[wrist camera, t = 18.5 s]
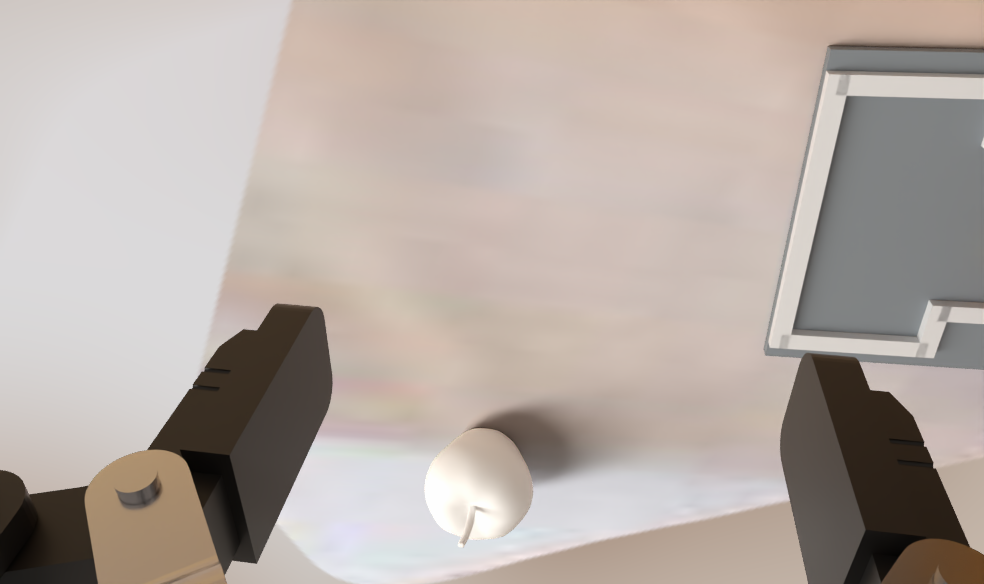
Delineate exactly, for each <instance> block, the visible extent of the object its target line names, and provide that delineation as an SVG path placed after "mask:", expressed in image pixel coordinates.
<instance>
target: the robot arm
mask: <svg viewBox="0 0 984 584" xmlns="http://www.w3.org/2000/svg"><path fill="white" fill-rule="evenodd" d="M331 394H332V371H331V363H330V356H329V349H328V342H327V334H326V327H325V320H324V315H323V312H322V310H321V309H320V308H319V307H311V306H300V305H289V304H275V305H274V306H273V307H272V308H271V310H270V311H269V313H268V314H267V316H266V318H265V319H264V321H263V322H262V324H261V325H260V327H259V328H258V330H257V331H255V330H245V329H243V330H242V331H241V332H239V333H238V334H236V335H235V336H234V337H232V338H231V339H229V340H228V341H227V342H225V343H224V344H222V345H221V346H220V347H219V348H218V349H217V351H216V352H215V354H214V355H213V356H212V358H211V359H210V361H209V362H208V364H207V365H206V366H205V371H204V372H201V374H200V375H199V376H198V378H197V379H196V381H195V382H194V384H193V388H192V389H189V391H188V392H187V394H186V395H185V397H184V398H183V399H182V401H181V402H180V404H179V405H178V407H177V408H176V410H175V411H174V412H173V414H172V415H171V417H170V418H169V420H168V421H167V422H166V424H165V425H164V427H163V428H162V429H161V431H160V432H159V434H158V435H157V437H156V438H155V439H154V441H153V442H152V444H151V445H150V447H149V448H148V450H146V451H139V452H136V453H132V454H129V455H126V456H124V457H122V458H119V459H117V460H116V461H114V462H112V463H111V464H109V465H107V466H106V467H105V468H104V469H102V470H101V471H100V472H99V473H98V474H97V475H96V476H95V477H94V478H93V480H92V481H91V483H90V484H89V486H85V487H79V488H72V489H65V490H58V491H51V492H44V493H37V494H30V495H29V494H28V491H27V489H26V487H25V485H24V483H23V481H22V480H21V479H20V478H19V476H17V475H15V474H14V473H11V472H8V471H3V470H0V584H227V582H226V579H225V574H226V571H227V569H228V568H229V566H230V564H231V562H232V560H233V561H240V562H248V563H256V564H257V562H258V560H259V558H260V555H261V553H262V551H263V549H264V547H265V544H266V543H267V540H268V538H269V536H270V534H271V532H272V529H273V527H274V525H275V523H276V521H277V519H278V517H279V514H280V512H281V510H282V508H283V506H284V504H285V501H286V499H287V497H288V495H289V493H290V491H291V488H292V486H293V484H294V482H295V480H296V478H297V475H298V473H299V471H300V469H301V467H302V465H303V463H304V460H305V458H306V456H307V454H308V452H309V450H310V447H311V445H312V443H313V441H314V439H315V437H316V434H317V432H318V430H319V428H320V426H321V424H322V421H323V419H324V417H325V415H326V413H327V410H328V407H329V404H330V400H331ZM780 452H781V461H782V466H783V471H784V475H785V480H786V484H787V489H788V493H789V498H790V502H791V507H792V512H793V516H794V521H795V525H796V529H797V534H798V539H799V543H800V548H801V552H802V557H803V562H804V566H805V570H806V575H807V580H808V584H984V555H983V554H982V553H980V552H978V551H976V550H974V549H972V548H970V546H969V544H968V541H967V539H966V537H965V534H964V532H963V530H962V528H961V525H960V523H959V521H958V518H957V516H956V514H955V511H954V509H953V507H952V505H951V502H950V500H949V498H948V495H947V493H946V491H945V489H944V486H943V484H942V482H941V479H940V477H939V475H938V472H937V470H936V469H934V468H933V461H932V459H931V456H930V454H929V452H928V450H927V447H924V440H923V438H922V436H921V433H920V431H919V429H918V427H917V424H916V422H915V420H914V417H913V416H912V415H911V414H910V413H909V412H908V411H907V410H906V409H905V408H904V407H903V406H902V405H901V404H900V403H899V402H898V400H897V399H896V398H895V397H894V396H893V395H892V394H891V393H890V392H883V391H873V390H870V389H869V386H868V383H867V381H866V378H865V376H864V373H863V370H862V368H861V365H860V363H859V361H858V360H857V358H855V357H849V356H838V355H827V354H816V353H805V354H804V356H803V357H802V359H801V362H800V365H799V368H798V372H797V375H796V379H795V382H794V386H793V389H792V392H791V396H790V399H789V403H788V406H787V410H786V413H785V417H784V420H783V424H782V429H781V439H780Z"/></svg>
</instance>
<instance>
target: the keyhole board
mask: <svg viewBox="0 0 984 584" xmlns="http://www.w3.org/2000/svg"><path fill="white" fill-rule="evenodd" d="M764 352H765V355H766V356H781V357H796V358H802V357H803V356H804V354H805V353H816V354H827V355H838V356H849V357H855V358H857V360H858V361H859V362H873V363H888V364H903V365H919V366H934V367H949V368H965V369H980V370H984V49H947V48H899V47H851V46H828V48H827V53H826V58H825V62H824V67H823V72H822V77H821V81H820V86H819V91H818V95H817V100H816V105H815V110H814V114H813V119H812V124H811V129H810V133H809V138H808V143H807V147H806V152H805V157H804V162H803V166H802V171H801V176H800V180H799V185H798V190H797V195H796V199H795V204H794V209H793V214H792V218H791V223H790V228H789V232H788V237H787V242H786V247H785V251H784V256H783V261H782V265H781V270H780V275H779V280H778V284H777V289H776V294H775V299H774V303H773V308H772V313H771V317H770V322H769V327H768V332H767V336H766V341H765V346H764Z"/></svg>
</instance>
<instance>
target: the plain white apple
mask: <svg viewBox="0 0 984 584" xmlns="http://www.w3.org/2000/svg"><path fill="white" fill-rule="evenodd" d="M425 497H426V502H427V505H428V507H429V509H430V511H431V513H432V515H433V517H434V519H435V520H436V522H437V523H438V524H439V525H440V527H441V528H442V529H444V530H446V531H447V532H449V533H451V534H454V535H457V536H460V537H461V539H460V541H459V543H458V546H459V547H464V545H465V544H466V542H467V540H468V539H472V540H484V539H495V538H499V537H503V536H505V535H506V534H508V533H509V532H510V531H512V530H513V529H514V528H515V527H516V526H517V525H518V524H519V522H520V521H521V520H522V519H523V518H524V516H525V515H526V513H527V511H528V510H529V508H530V505H531V502H532V498H533V485H532V479H531V475H530V472H529V469H528V467H527V465H526V463H525V461H524V459H523V457H522V455H521V453H520V452H519V450H518V448H517V447H516V445H515V444H514V442H513V441H512V440H511V439H509V438H508V437H507V436H506V435H505V434H503V433H501V432H499V431H497V430H493V429H487V428H476V429H471V430H468V431H466V432H465V433H463V434H461V435H460V436H458V437H457V438H456V439H455V440H453V441H452V442H451V443H450V444H449V445H448V446H447V447H445V448H444V449H443V450H442V451H441V452H440V453H439V454H438V455H437V456H436V458H435V459H434V460H433V462H432V463H431V465H430V468H429V470H428V473H427V476H426V481H425Z"/></svg>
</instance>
